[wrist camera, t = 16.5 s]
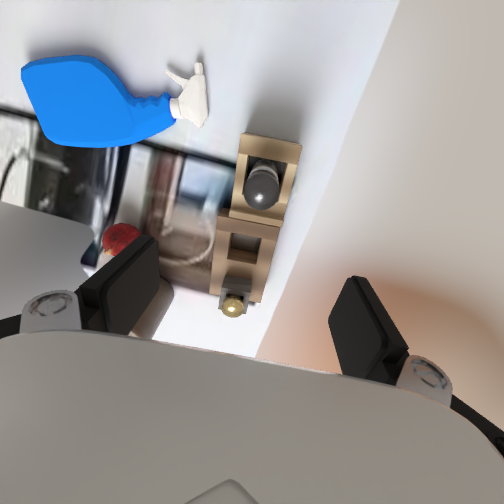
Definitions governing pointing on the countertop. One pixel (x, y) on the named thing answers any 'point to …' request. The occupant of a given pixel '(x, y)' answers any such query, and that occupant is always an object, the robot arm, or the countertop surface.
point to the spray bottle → (104, 103)
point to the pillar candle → (154, 312)
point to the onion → (118, 238)
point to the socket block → (241, 259)
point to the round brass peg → (232, 306)
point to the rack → (290, 156)
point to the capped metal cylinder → (262, 185)
